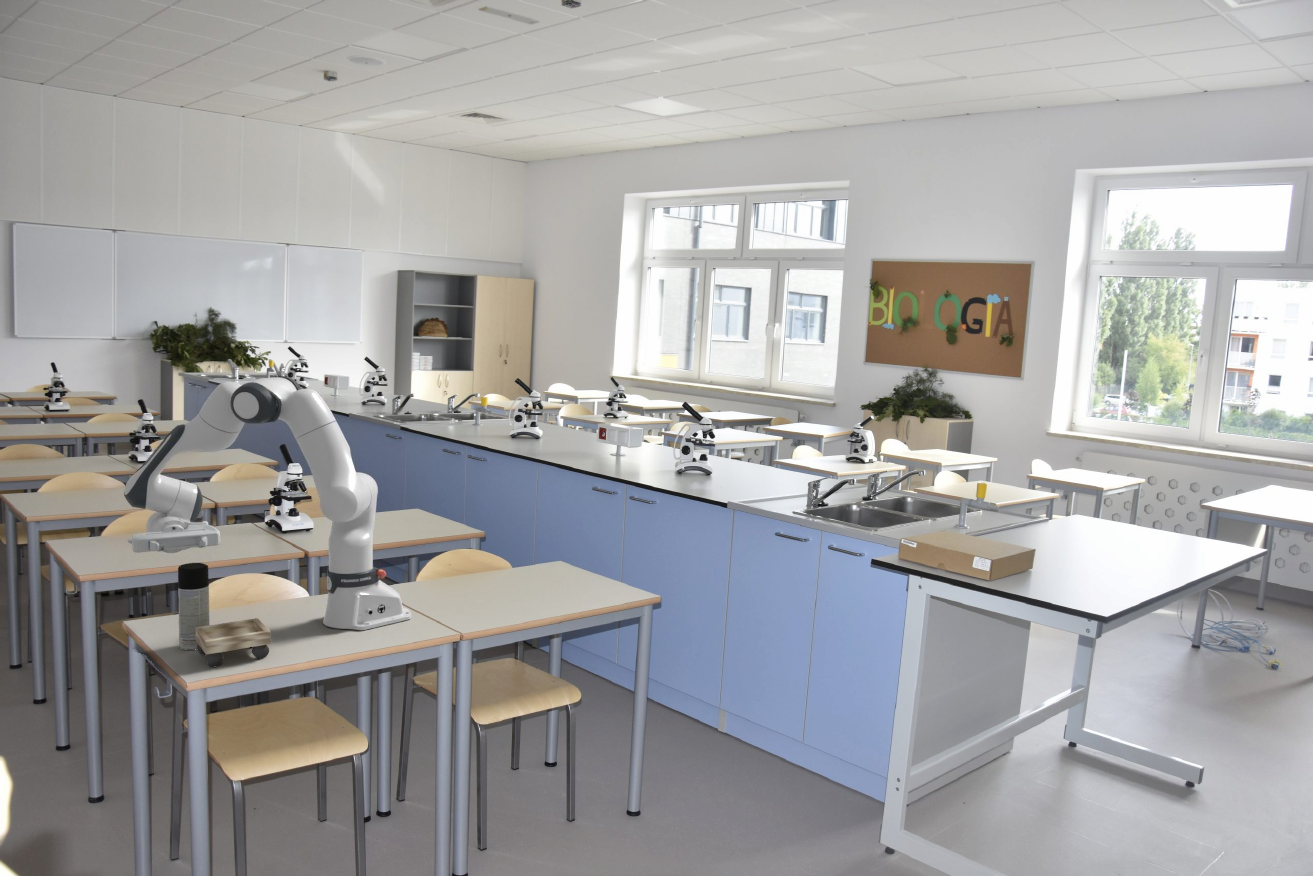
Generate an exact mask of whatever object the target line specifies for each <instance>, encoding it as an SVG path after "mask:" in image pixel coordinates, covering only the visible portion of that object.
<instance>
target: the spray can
mask: <svg viewBox="0 0 1313 876" xmlns="http://www.w3.org/2000/svg"><path fill="white" fill-rule="evenodd" d="M209 582H210V581H209V565H207V564H205V563H203V562H188V563H184V564H180V565H179V566H178V568H177V589H178V590H177V593H178V594H177V595H178V597H177V598H178V601H177V602H178V603H177V604H178V634H179V635H178V638H179V639H178V641H179V643H178V644H179V649H180V648H182V649H187V650H186V651H196V650H195V649H197V645H198V643H197V642H196V640H195V627H202V626H208V625H210V585H209ZM182 649H181V650H182Z"/></svg>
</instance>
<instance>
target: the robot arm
mask: <svg viewBox="0 0 1313 876" xmlns="http://www.w3.org/2000/svg"><path fill="white" fill-rule="evenodd" d="M277 420H280V421H283V422H284V423H286V425H287V426H288V427H289V429H290V431H291V432H292V435H293V437H294V439H295V441H296V443H297V444H298V446H299V449H300V451H301V452H302V455H303V457H304V458H305V460H306V463H307V465H308V467H309V469H310V472H311V475H312V478H313V483H314V486H315V489H316V492H317V495H318V498H319V507H320V510H321V513H322V515H324V517H325V518H326V519H328V520H330V521H332V522H331V530H330V535H329V538H328V569H327V572H326V574H327V575H326V588H327V592H328V593H327V603H326V610H325V614H324V616H323V620H322V623H323V624H324V626H326V627H329V628H333V629H343V630H345V629H347V630H356V631H365V630H371V629H374V628H379V627H383V626H387V625H391V624H396V623H400V622H405V621H408V620H411V618H412V612H411V610H410V609H408V608H406V607H405V606H403V601H402V598H401V595H400V593H399V592H398V591H397V590H395V589H394V588H393V587H391V586H389V585H388V584H386V583H385V582H384V581H382V580H381V579H384V578H386V577H387V572H386V571H385V570H384V569H379V568H377V567H375V566H374V562H373V561H374V559H373V558H374V557H373V556H374V554H373V553H374V552H373V549H374V547H373V546H374V544H373V543H374V542H373V540H374V530H375V523H376V515H377V514H376V513H377V512H376V511H377V502H378V501H377V499H378V494H379V487H378V484H377V481H376V480H375V479H374V478H373V477H372V476H371V475H369V474H368V473H364V472H357V471H356V469H355V465H354V461H353V459H352V453H351V447H350V445H349V443H348V441H347V440H346V437H345V434H344V433H343V431H342V429H341V427H340V425H339V424H338V422H337V420H336V418H335V416H334V414H333V412H332V410H331V409H330V408H329V406H328V404H327V402H325V400H324V398H322V396H321V395H320V394H319V392H318V391H316V390H314V389H312V388H302V387H301V386H300V384H299V383H298V381H296V380H295V379H293V378H291V377H289V376H283V375H274V376H272V377H262V378H257V379H255V380H252V381H250V382H249V381H248V382H245V383H244V384H241V383H239V382H236V381H224V382H221V383H219V384H218V385H217V387H215V389H214V390H212V392H211V393H210V395H208V397H207V399H206V401H205V402H204V403H203V404H202V406H201V408H200V410H199V412H198V414H197V415H196V416H195V417H194V418H192V419H191V420H189V421H188V422H186V423H183V424H178V425H176V426H175V427H174V428H172V429H171V431H169V432H168V434H166V436H165V437H164V438H163V440H162V441H161V442H160V443H159V444H158V445H157V447H156V448H155V449H154V450H153V451H152V453H151V454H150V455H149V457H148V458H147V459H146V460H145V461H144V463H143V464H141V466H140V467H139V468H138V469H137V470H136V471H135V472H134V473H133V474H132V475H131V477H129V479H128V480H127V481H126V483H125V487H124V491H123V496H124V498H125V500H126V501H127V503H128V504H129V505H130V506H131V507H132V508H137V509H141V510H147V511H148V510H149V511H152V512H153V513H152V514H151V515H150V516H149V517H148V518H147V521H146V525H145V528H146V529H145V530H146V532H139V533H138V532H137V533H135V534H134V533H133V535H132V536H131V537H130V538H127V542H128V544H131V549H132V552H133V553H147V552H148V553H149V552H150V553H151V552H159V553H160V552H163V553H167V554H175V553H179V552H181V551H185V550H189V549H193V548H200V549H202V548H206V547H215V546H216V547H217V546H219V545H221V531H220V530H219V529H218V528H216V527H215V526H213V525H212V524H211V525H210V524H209V522H208V521H206V520H197V518H198V517H199V515H200V512H201V510H202V507H203V502H204V501H203V500H204V499H203V497H204V496H203V494H202V492H201V489H200V487H199V486H198V485H197V484H194V483H191V482H188V481H184V480H182V479H177V478H174V477H170V476H166V475H163V474H162V472H163V471H164V470H165V468H167V466H168V464H169V463H171V461H172V460H173V459H174V458H175V457H176V456H178V455H180V454H186V453H214V452H215V453H216V452H221V451H223V450H225V449H228V448H229V447H231V446H232V445H233V443H234V442H236V440H237V438H238V437H239V434H240V433H241V431H242V430H243V427H244V425H245V424H249V425H250V424H252V425H260V424H268V423H274V422H276V421H277Z"/></svg>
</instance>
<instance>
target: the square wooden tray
mask: <svg viewBox="0 0 1313 876" xmlns="http://www.w3.org/2000/svg"><path fill="white" fill-rule="evenodd" d="M195 640H196V642H197V643H198V645H197V649H198V650H197V651H198V652H199V654H200V655H202V656H205V658H204V660H205V662H206V664H207V665H208V666H209V667H211V668H215V667H214V666H217V667H219V666H220V665H221V664H222V663H223V662H224V655H223V654H222V653H225V652H230V651H236V650H243V649H248V648H249V649H251V654H252V656H254V657H255V659H258V660H262V659H264V658H266V657H267V656H268V655H269V653H270V648H269V646H268V645H271V644H272V632H271V630H270V629H269V628H268V627H267V626H266V625H265V624H264V623H263V622H262V621H261V620H260V619H259V618H257V617H256V618H249V619H244V620H243V619H242V620H235V621H230V622H229V621H228V622H223V623H216V624H209V625H208V626H202V627H195ZM250 647H252V648H250Z"/></svg>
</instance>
